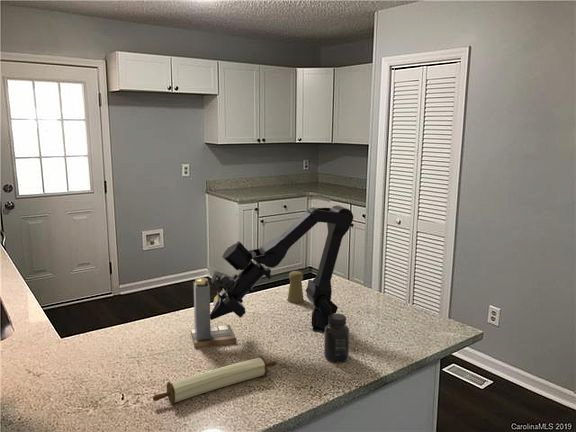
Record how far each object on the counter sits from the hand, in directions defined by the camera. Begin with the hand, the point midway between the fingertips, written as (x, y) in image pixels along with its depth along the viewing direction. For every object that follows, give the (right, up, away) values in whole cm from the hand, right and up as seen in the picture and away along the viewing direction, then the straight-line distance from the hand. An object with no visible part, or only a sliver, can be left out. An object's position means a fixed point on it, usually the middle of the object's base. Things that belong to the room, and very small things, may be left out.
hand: (210, 318), depth 138 cm
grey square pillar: (-3, -5, +2) cm, 6 cm away
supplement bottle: (+36, -9, -7) cm, 38 cm away
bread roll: (+1, -2, +31) cm, 31 cm away
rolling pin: (+6, -12, -23) cm, 27 cm away
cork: (+26, -1, +35) cm, 44 cm away
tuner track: (0, -7, +4) cm, 7 cm away
